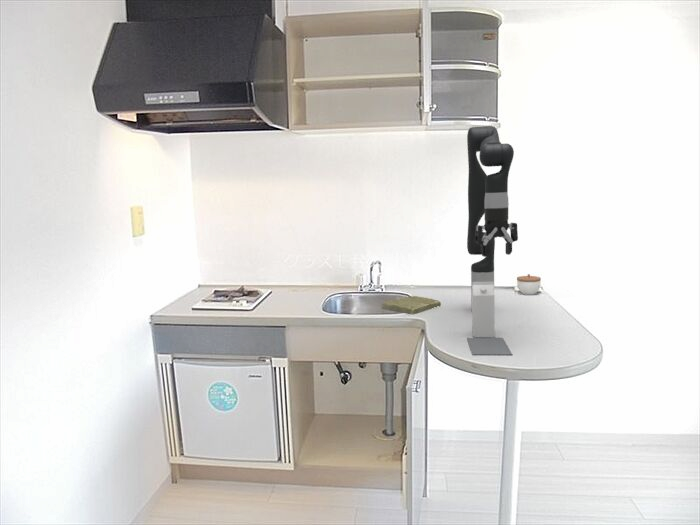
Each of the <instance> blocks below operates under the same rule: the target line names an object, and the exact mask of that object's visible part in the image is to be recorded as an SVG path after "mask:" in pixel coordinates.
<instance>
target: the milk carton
mask: <svg viewBox="0 0 700 525" xmlns="http://www.w3.org/2000/svg"><path fill="white" fill-rule="evenodd" d="M495 296H496V295H495V281H494V282H472V311H471V325H472V326H471V331H472V338H496V336H495V332H496V330H495V328H496V327H495V324H496V321H495V320H496V319H495V318H496V317H495V313H496V312H495V308H496V307H495V305H496V304H495V301H496V300H495Z"/></svg>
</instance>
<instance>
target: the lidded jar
mask: <svg viewBox="0 0 700 525" xmlns="http://www.w3.org/2000/svg"><path fill="white" fill-rule="evenodd" d="M516 280H517V282H516V283H517V288H518V291H519V292H521V294H522V295H525V296H533V295H536V293H538V291H539V290H540V288H541V277H540V276H536V275H531V274H529V273H528V274H527V275H521V276H517V277H516Z"/></svg>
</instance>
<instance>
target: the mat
mask: <svg viewBox="0 0 700 525" xmlns="http://www.w3.org/2000/svg"><path fill="white" fill-rule="evenodd" d="M466 340H467V343H468V346H469V349H470V351H471V355H472V356H513V353H512V351H511V350H510V348H509V346H508V344H507V343H506V340H505V339H504V337H466Z"/></svg>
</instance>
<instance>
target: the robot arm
mask: <svg viewBox="0 0 700 525" xmlns="http://www.w3.org/2000/svg"><path fill="white" fill-rule="evenodd" d="M499 136H500V135H499V132H498V130H497V128H496V127H495V126H492V125H487V126H472V127H469V129H468V130H467V135H466V137H467V139H466V141H467V143H466V144H467V158H468V159H467V161H468V163H467V164H468V180H467V182H468V185H467V204H468V205H467V206H468V224H467V238H466V242H467V244H466V248H467V253H468V254H469V255H471V256H472V255H474V256H476V255H477V256H478V255H479V256H482V257H484V258H482V259H481V260H479V261H476V262H474V263H472V264H471V266H470V276H471V277H470V280H471V282H470V283H471V284H470V285H471V286H470V288H471V290H470V292H471V300H470V302H471V304H470V305H471V307H470V308H471V311H470V312H472V282H494V283H495V249H496V248H495V247H496V239H495V238H503V239H504V241H505V255H511V253H513V243H514V242H517V241H518V240H519V236H518V235H519V234H518V223H516V222H510V223H509V205H510V204H509V193H508V190H509V189H508V184H509V172H510V169H511V166H512V163H513V159H514V154H515V153H514V152H515V151H514V148H513V146H512V145H511V144H509V143H502V142H501V141H500V137H499ZM477 152H479V159H478V156H477ZM480 163H481V164H480ZM482 166H483V167H488V168H489V167H500V170H499V171H497V172H495V173H490V174H487V173H486V172H485V170H484V169H483V167H482ZM483 216H484V225H479V222H480V221H481V219H482V217H483ZM508 230H510V231H509V232H508Z"/></svg>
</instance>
